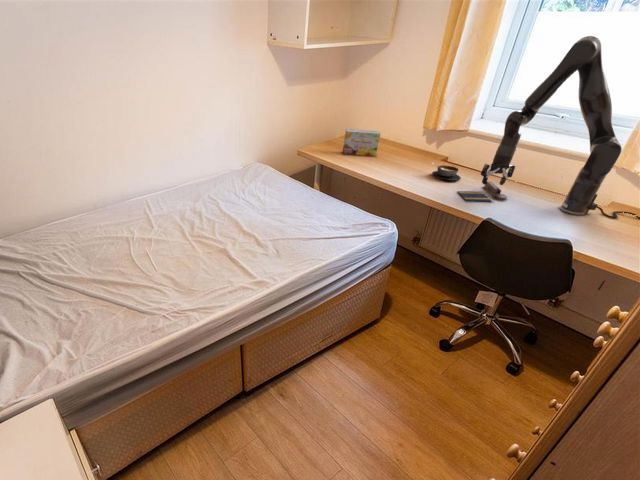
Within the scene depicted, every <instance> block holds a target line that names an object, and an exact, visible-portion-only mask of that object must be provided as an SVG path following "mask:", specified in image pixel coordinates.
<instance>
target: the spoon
mask: <svg viewBox="0 0 640 480" xmlns="http://www.w3.org/2000/svg"><path fill="white" fill-rule="evenodd" d="M483 187H484V189H486V190H487V191H488V192H489V193H490V194H492V195H493V196H492V198H493V199H494V200H496V201H503V202H504V201H506V200H507V198H508V196H507V195H506V194H504V193H502V189H500V188H499V186H497V185H495V184H494V183H493V182H492V181H488V180H487V182H486V184H485V185H484V186H483Z"/></svg>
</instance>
